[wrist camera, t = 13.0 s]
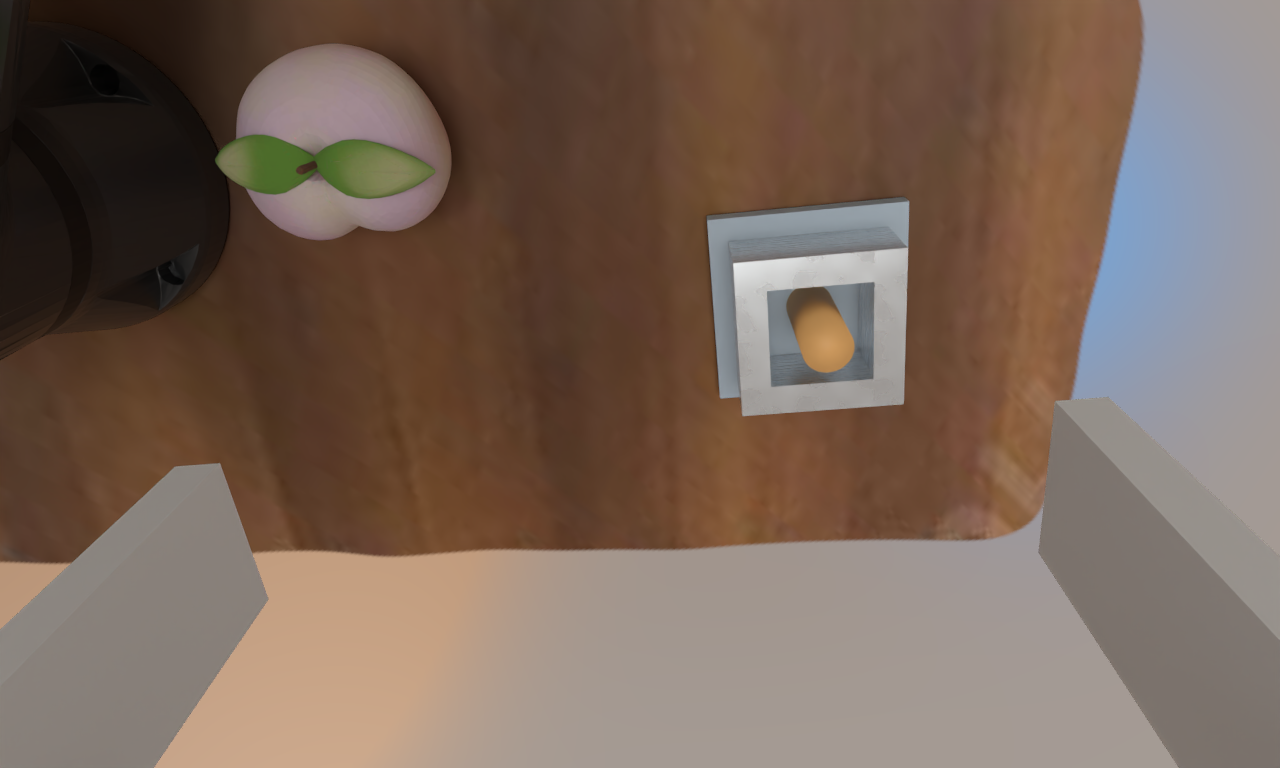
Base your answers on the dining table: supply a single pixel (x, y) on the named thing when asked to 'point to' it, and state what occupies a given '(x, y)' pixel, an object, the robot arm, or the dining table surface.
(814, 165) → the dining table surface
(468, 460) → the dining table surface
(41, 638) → the robot arm
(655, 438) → the dining table surface
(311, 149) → the decorative fruit
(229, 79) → the dining table surface
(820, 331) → the keeper
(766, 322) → the gray square frame
